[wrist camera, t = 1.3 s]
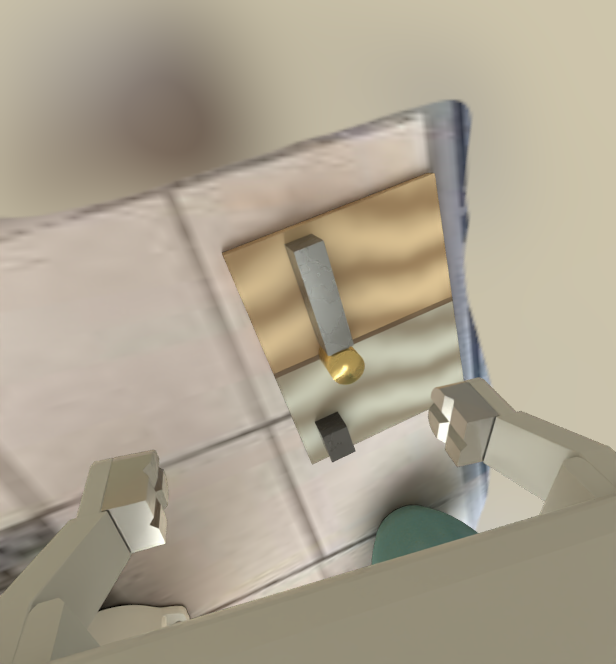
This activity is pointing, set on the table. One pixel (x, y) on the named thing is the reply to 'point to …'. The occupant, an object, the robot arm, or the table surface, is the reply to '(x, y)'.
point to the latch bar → (325, 308)
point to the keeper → (335, 436)
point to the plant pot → (415, 532)
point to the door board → (359, 311)
